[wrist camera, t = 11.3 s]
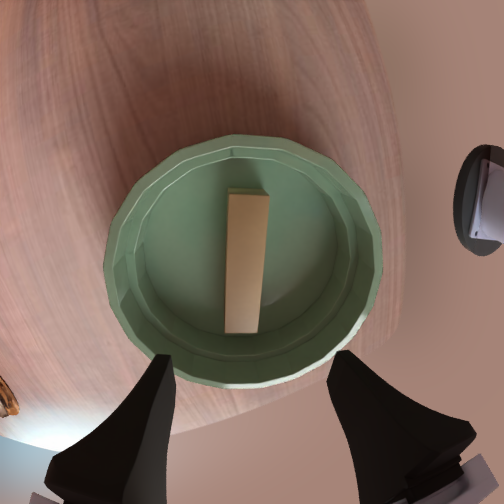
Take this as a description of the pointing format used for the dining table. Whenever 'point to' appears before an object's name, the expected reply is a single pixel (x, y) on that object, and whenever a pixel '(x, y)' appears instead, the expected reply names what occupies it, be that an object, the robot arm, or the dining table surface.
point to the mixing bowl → (213, 261)
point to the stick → (244, 258)
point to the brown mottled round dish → (7, 401)
